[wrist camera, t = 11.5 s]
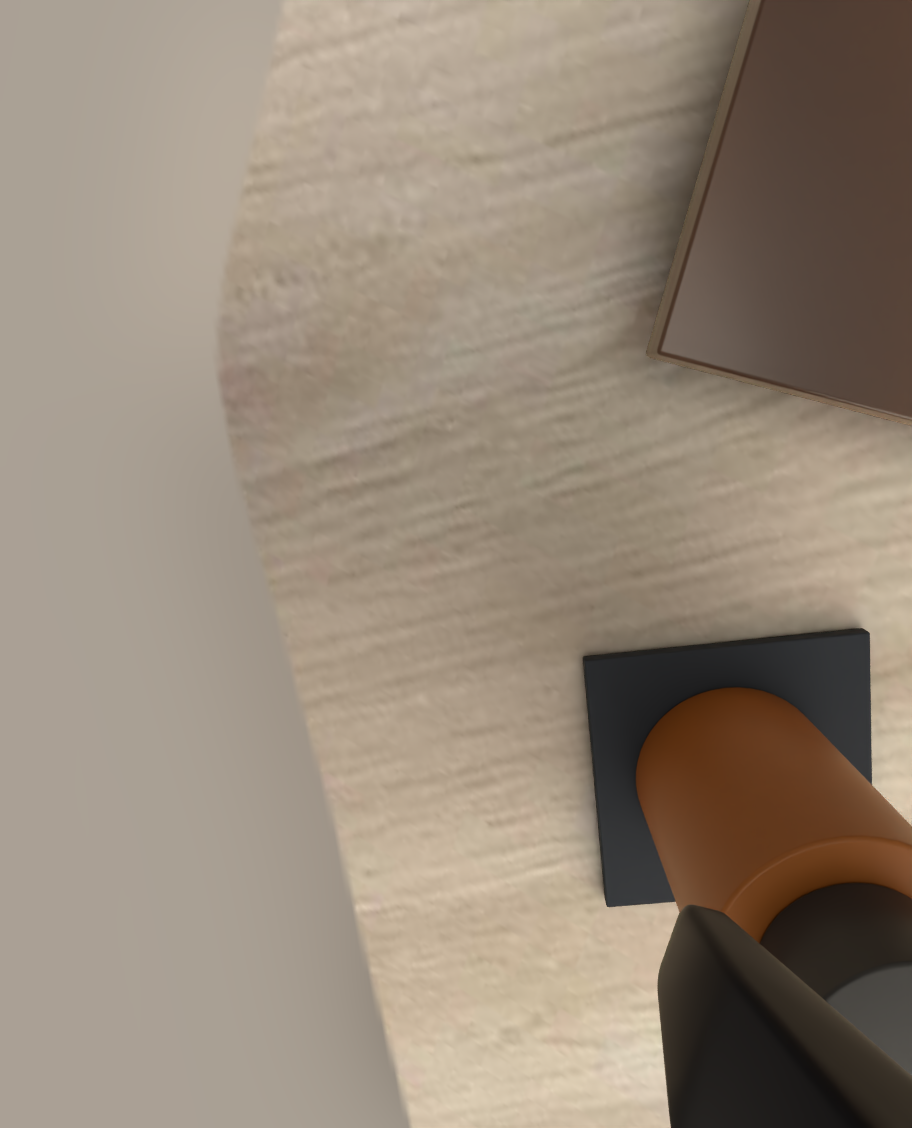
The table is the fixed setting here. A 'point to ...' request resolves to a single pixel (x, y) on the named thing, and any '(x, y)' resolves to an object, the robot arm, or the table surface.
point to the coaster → (672, 675)
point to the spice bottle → (787, 850)
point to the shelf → (804, 212)
